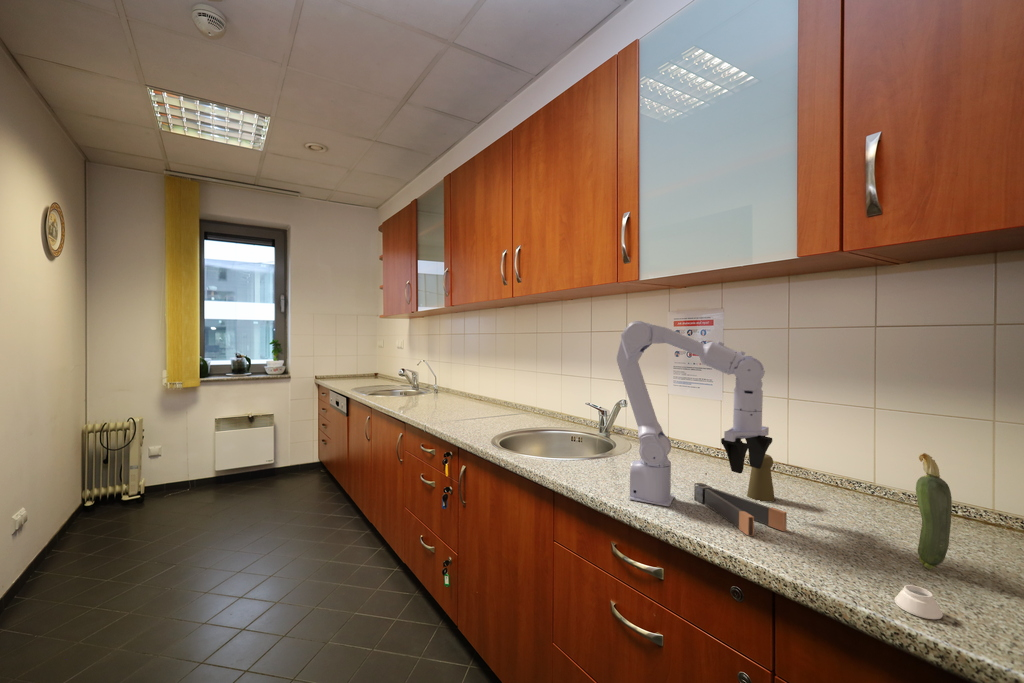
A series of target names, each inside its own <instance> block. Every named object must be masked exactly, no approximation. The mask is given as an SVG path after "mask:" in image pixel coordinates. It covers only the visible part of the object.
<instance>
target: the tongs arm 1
mask: <svg viewBox="0 0 1024 683" xmlns="http://www.w3.org/2000/svg"><path fill="white" fill-rule="evenodd" d="M704 505H706V506H708V507H709V508H710V509H712V510H713V511H714V512H716V513H717V514H718V515H720V516H722V517H723V518H724V519H725V520H727V521H729V522H730V523H731V524H732V525H734V526H736V527H737V528H738V529H739V531H741V532H742V533H744V534H745V535H746V536H754V535H755V532H754V531H755V530H754V528H755V520H754V517H753V516H752V515H750V514H748V513H747V512H745V511H742V510H740V509H739V508H737V507H736V506H734V505H733V504H731V503H729V502H728V501H726V500H725V499H723V498H722V497H720V496H718V495H717V494H715V493H714V492H712V491H711V490H709V489H705V504H704Z"/></svg>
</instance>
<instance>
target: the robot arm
mask: <svg viewBox="0 0 1024 683" xmlns="http://www.w3.org/2000/svg"><path fill="white" fill-rule="evenodd" d="M619 342H620V343H619V347H618V351H617V355H616V363H617V366H618V370H619V372H620V376H621V379H622V382H623V385H624V387H625V391H626V395H627V396H628V401H629V403H630V406H631V409H632V412H633V413H632V414H633V416H634V418H635V421H636V425H637V429H638V430H637V432H638V433H637V434H638V437H637V438H638V440H639V450H638V451H639V456H640V459H639V460H636V459H635V460H632V462H631V464H630V469H629V496H628V499H629V500H630V501H636V502H641V503H648V504H653V505H657V506H662V507H663V506H664V507H670V506H671V504H672V503H673V500H674V498H675V495H674V494H672V493H671V492H672V491H671V487H672V486H671V483H672V478H671V477H672V463H671V461H670V459H669V457H668V455H669V453H670V452H671V450H672V443H671V440H670V438H668V436H667V435H666V433H664V431H663V428H662V426H661V424H660V423H659V421H658V419H657V416H656V413H655V409H654V406H653V403H652V400H651V397H650V394H649V391H648V389H647V385H646V381H645V379H644V375H643V373H642V370H641V366H640V364H639V360H640V359H641V357H642V356H643V354H644V352H645V351H646V350H647V349H648V348H650V347H651V345H652V344H654V345H655V344H668V345H670V346H672V347H675V348H677V349H678V348H679V349H680V350H683V351H685V352H688V353H691V354H693V355H696V356H698V357H699V359H700V361H701V364H703V365H704V366H707V367H710V368H712V369H715V370H716V371H719V372H721V373H723V374H726V375H728V376H729V375H734V376H735V387H734V389H733V412H732V413H733V416H732V417H733V420H732V422H733V424H732V427H730V428H729V429H727V430H725V431H724V435H723V436H724V437H722V438H721V439H720V442H721V445H722V446H723V448H724V450H725V452H726V455H727V459H728V461H729V462H728V463H729V466H730V470H731V472H733V473H735V474H736V473H737V474H743V471H744V465H745V460H746V459H745V458H746V454H747V452H748V460H749V462H748V463H749V466H750V467H751V468H752V467H754V468H758V469H760V468H761V466H762V463H763V459H764V456H765V454H767V451H768V448H770V445H771V444H773V438H772V437H769V433H770V432H769V426H764V425H763V401H764V400H763V398H764V397H763V394H764V393H763V392H764V391H763V389H762V388H763V381H762V379H763V378H764V377H765V373H766V370H765V369H764V365H763V364H762V362H761V361H760V360H758V359H757V358H755V357H753V356H752V355H746V352H745V351H743V350H740V351H738V350H735V349H733V348H730V347H727V346H726V345H725V343H724V342H722V341H719V340H718V341H717V342H715V341H709V342H708V343H702V342H700V341H698V340H696V339H694V338H692V337H689V336H687V335H685V334H682V333H680V332H677V331H676V330H672V329H671V328H668V327H665V326H660V325H658V324H657V325H656V324H652V323H649V322H645V321H642V320H634V321H632V322H629V323H628V325H626V327H625V328H624V330H623V331H622V333H621V334H620V341H619ZM744 439H745V442H743V440H744Z"/></svg>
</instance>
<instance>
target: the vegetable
mask: <svg viewBox="0 0 1024 683" xmlns="http://www.w3.org/2000/svg"><path fill="white" fill-rule="evenodd" d="M918 459H919V461H920V462H922V466H923V471H924V473H925V475H923V476H920V477H919V478H918V479H917V481H916V484H915V493H916V500H917V504H918V508H919V512H920V515H921V529H920V535H919V540H918V548H917V555H918V560H919V562H920V563H921V564H922V565H923V566H924V567H925V568H926V569H928V570H932V569H934V568H935V567H937V566H940V565H941V564H942V563H943V562H944V561H945V558H946V555H947V554H948V550H949V546H950V536H951V535H950V534H951V526H952V512H953V510H952V509H953V508H952V507H953V506H952V503H953V502H952V500H953V499H952V492H951V489H950V486H949V485H948V483H947V481H945V480H944V479H943V478H941V475H940V469H939V466H938V464H937V462H936V460H935V459H933V457H932V456H931V455H930V454H928V453H926V452H924V453H921V454H919V456H918Z"/></svg>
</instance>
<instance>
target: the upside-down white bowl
mask: <svg viewBox="0 0 1024 683" xmlns="http://www.w3.org/2000/svg"><path fill="white" fill-rule="evenodd" d="M894 602H895V604H896V606H898V607H899V608H900V609H902V610H903V611H905V612H907V613H908V614H911V615H913V616H916V617H918V618H922V619H926V620H939V619H940V620H942V617H943V612H942V610H941V608H940V606H939V604H938V602H937V600H936V599H935V598H934V596H933V593H932V592H931V591H929V590H928V589H926V588H923V587H920V586H918V585H917V586H916V585H911V584H910V585H909V584H906V585H904V586H903V588H902V589H900V591H899V592H898V593H897V595H896V596H895V597H894Z"/></svg>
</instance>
